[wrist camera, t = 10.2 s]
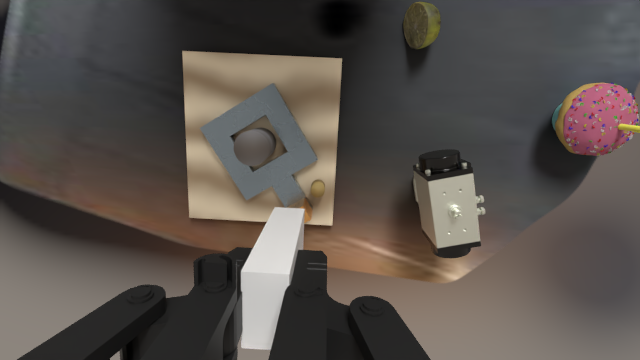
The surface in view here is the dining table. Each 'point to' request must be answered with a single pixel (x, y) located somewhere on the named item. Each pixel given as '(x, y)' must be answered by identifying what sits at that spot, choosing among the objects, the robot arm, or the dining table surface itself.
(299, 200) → the flange plate
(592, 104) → the cupcake
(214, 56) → the post board
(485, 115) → the dining table surface
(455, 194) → the pneumatic valve
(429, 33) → the lime
